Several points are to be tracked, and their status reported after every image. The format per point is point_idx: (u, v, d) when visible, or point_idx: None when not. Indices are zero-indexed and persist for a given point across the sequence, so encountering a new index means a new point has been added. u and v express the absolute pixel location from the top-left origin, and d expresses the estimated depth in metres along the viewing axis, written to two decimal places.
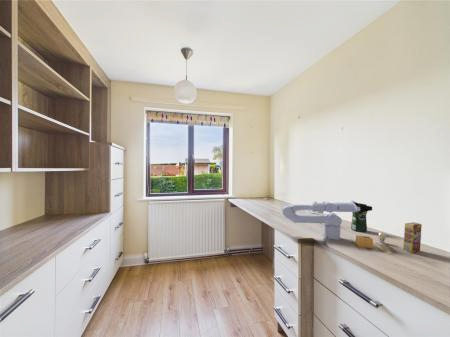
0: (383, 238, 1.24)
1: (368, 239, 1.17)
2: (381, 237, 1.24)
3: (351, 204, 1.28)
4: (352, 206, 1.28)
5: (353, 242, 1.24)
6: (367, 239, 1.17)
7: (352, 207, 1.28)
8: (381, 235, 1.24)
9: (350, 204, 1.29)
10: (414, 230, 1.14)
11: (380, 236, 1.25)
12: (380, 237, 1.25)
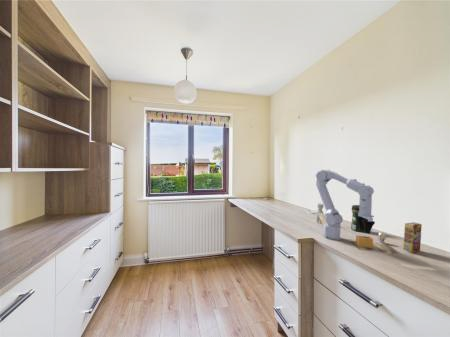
0: (383, 238, 1.24)
1: (368, 239, 1.17)
2: (381, 237, 1.24)
3: (370, 214, 1.16)
4: (368, 214, 1.16)
5: (353, 242, 1.24)
6: (367, 239, 1.17)
7: (367, 214, 1.16)
8: (381, 235, 1.24)
9: (370, 212, 1.16)
10: (414, 230, 1.14)
11: (380, 236, 1.25)
12: (380, 237, 1.25)
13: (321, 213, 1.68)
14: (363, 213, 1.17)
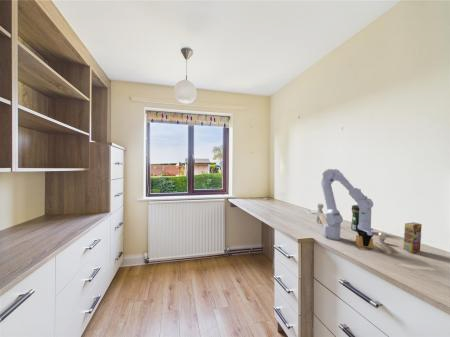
0: (383, 238, 1.24)
1: None
2: (381, 237, 1.24)
3: (370, 227, 1.16)
4: (368, 228, 1.16)
5: (353, 242, 1.24)
6: None
7: (367, 228, 1.16)
8: (381, 235, 1.24)
9: (370, 226, 1.16)
10: (414, 230, 1.14)
11: (380, 236, 1.25)
12: (380, 237, 1.25)
13: (321, 213, 1.68)
14: (363, 226, 1.17)
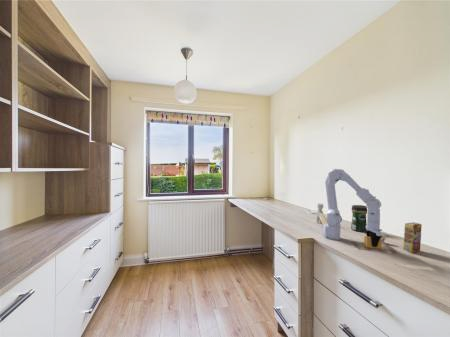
0: (383, 238, 1.24)
1: None
2: (381, 237, 1.24)
3: (378, 228, 1.15)
4: (377, 228, 1.15)
5: (353, 242, 1.24)
6: None
7: (376, 228, 1.15)
8: None
9: (379, 226, 1.15)
10: (414, 230, 1.14)
11: None
12: None
13: (321, 213, 1.68)
14: (371, 227, 1.16)
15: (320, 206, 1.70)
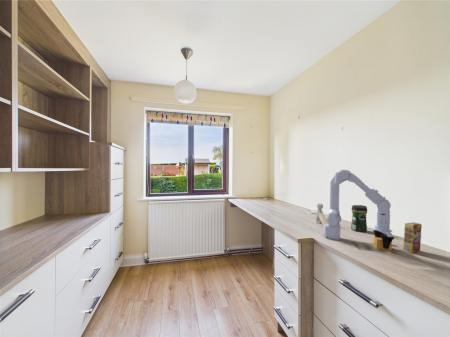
0: None
1: None
2: None
3: (389, 229, 1.14)
4: (387, 229, 1.14)
5: (353, 242, 1.24)
6: None
7: (386, 229, 1.14)
8: None
9: (389, 227, 1.14)
10: (414, 230, 1.14)
11: None
12: None
13: (321, 213, 1.67)
14: (381, 228, 1.15)
15: (320, 206, 1.69)
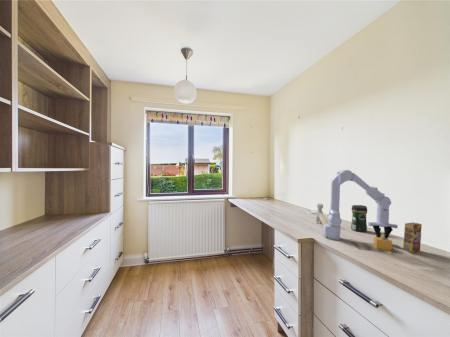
0: None
1: (387, 241, 1.14)
2: (381, 237, 1.24)
3: (380, 222, 1.24)
4: (378, 222, 1.25)
5: (353, 242, 1.24)
6: (386, 241, 1.15)
7: (377, 221, 1.26)
8: (381, 235, 1.24)
9: (380, 221, 1.24)
10: (414, 230, 1.14)
11: (380, 236, 1.25)
12: (380, 237, 1.25)
13: (321, 213, 1.67)
14: None
15: (320, 206, 1.69)
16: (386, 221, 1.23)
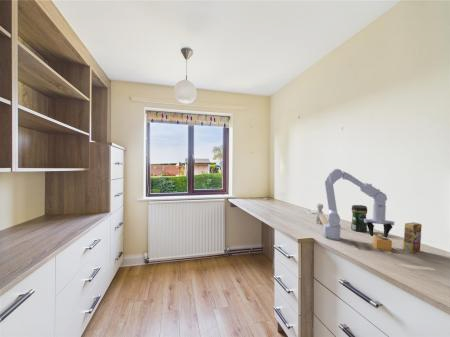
0: None
1: (387, 241, 1.14)
2: (378, 237, 1.20)
3: (376, 219, 1.20)
4: (374, 219, 1.21)
5: (353, 242, 1.24)
6: (386, 241, 1.15)
7: (373, 218, 1.22)
8: (378, 235, 1.19)
9: (376, 217, 1.20)
10: (414, 230, 1.14)
11: (377, 236, 1.20)
12: None
13: (321, 214, 1.66)
14: None
15: (320, 206, 1.68)
16: (383, 218, 1.19)
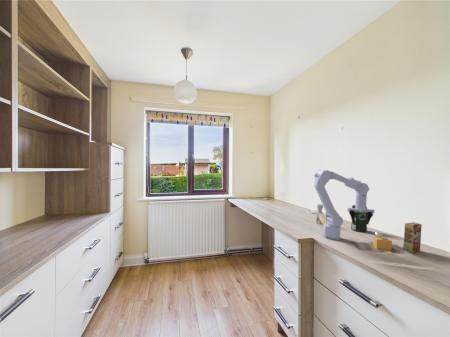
0: None
1: (387, 241, 1.14)
2: None
3: (358, 207, 1.31)
4: (356, 207, 1.32)
5: (353, 242, 1.24)
6: (386, 241, 1.15)
7: (355, 207, 1.33)
8: (377, 235, 1.20)
9: (358, 206, 1.31)
10: (414, 230, 1.14)
11: (376, 236, 1.21)
12: None
13: (321, 214, 1.65)
14: None
15: (320, 206, 1.67)
16: (364, 206, 1.30)
